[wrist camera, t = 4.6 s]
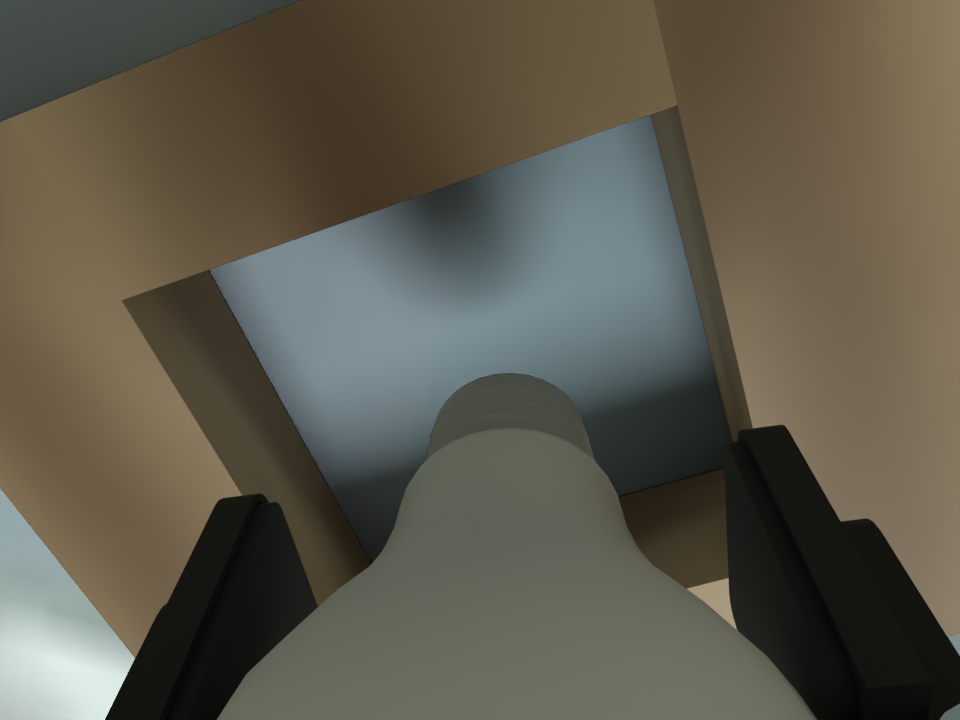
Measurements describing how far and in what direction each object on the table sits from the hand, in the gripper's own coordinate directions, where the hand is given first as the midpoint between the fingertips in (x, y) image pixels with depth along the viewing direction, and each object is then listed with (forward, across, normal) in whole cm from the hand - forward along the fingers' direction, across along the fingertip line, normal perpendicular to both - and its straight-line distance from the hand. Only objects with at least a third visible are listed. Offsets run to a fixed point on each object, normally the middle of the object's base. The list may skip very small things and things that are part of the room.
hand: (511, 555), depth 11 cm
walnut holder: (+6, 0, 0) cm, 6 cm away
